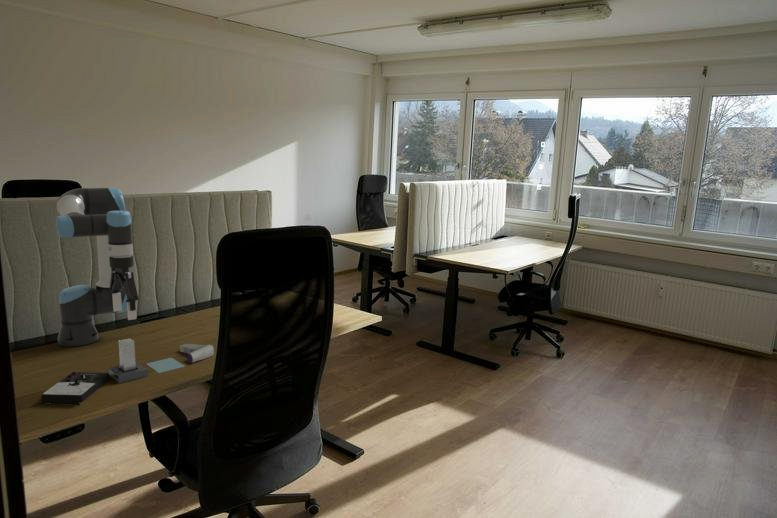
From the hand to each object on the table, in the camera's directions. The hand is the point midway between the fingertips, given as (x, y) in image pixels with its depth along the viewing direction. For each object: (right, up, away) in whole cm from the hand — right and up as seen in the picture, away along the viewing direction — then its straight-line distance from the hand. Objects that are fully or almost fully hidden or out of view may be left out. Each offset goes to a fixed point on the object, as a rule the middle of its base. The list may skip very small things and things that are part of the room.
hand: (124, 315), depth 198 cm
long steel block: (-1, -22, +4) cm, 23 cm away
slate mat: (+8, -21, +15) cm, 27 cm away
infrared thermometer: (+14, -20, +27) cm, 36 cm away
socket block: (-1, -23, +5) cm, 24 cm away
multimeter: (-12, -26, -8) cm, 30 cm away
